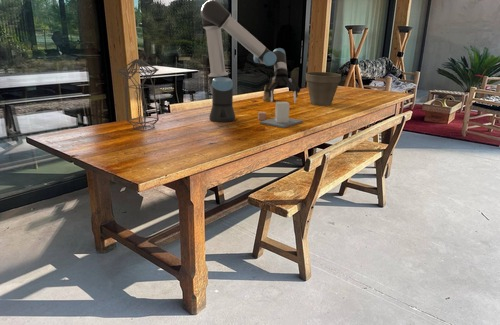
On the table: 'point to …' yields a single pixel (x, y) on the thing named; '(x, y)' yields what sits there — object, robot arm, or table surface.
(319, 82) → the plant pot
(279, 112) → the grey cover
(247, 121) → the table surface
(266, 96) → the utensil holder
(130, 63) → the geometric lantern
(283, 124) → the slate board
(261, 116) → the terracotta cube
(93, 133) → the table surface
